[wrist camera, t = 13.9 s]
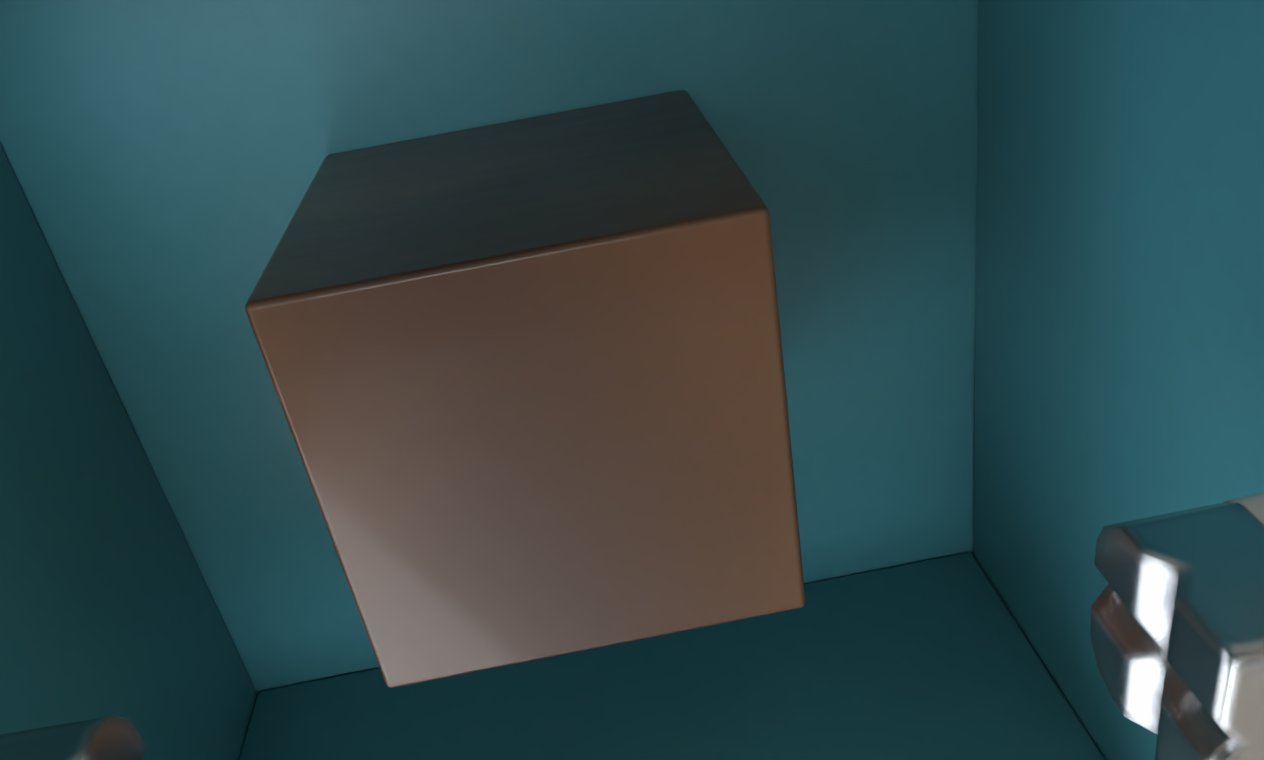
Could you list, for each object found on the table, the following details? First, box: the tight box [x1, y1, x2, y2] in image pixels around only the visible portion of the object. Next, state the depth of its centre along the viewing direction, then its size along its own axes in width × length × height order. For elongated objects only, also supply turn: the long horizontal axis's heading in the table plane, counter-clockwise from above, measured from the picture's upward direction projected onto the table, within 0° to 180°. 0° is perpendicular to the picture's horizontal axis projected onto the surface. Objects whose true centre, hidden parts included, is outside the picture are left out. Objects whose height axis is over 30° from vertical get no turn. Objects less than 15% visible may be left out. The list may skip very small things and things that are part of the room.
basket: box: [0, 0, 1264, 760], centre depth 12 cm, size 15×15×8 cm
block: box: [245, 90, 806, 688], centre depth 13 cm, size 5×5×5 cm
